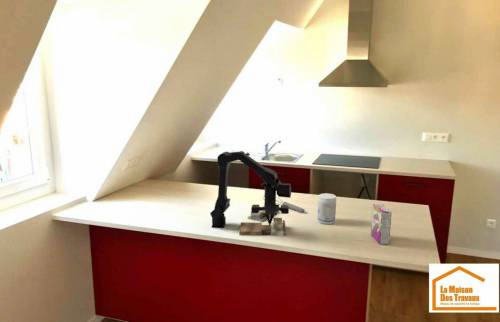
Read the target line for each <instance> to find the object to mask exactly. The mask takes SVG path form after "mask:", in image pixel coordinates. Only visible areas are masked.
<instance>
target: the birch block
mask: <svg viewBox="0 0 500 322" xmlns="http://www.w3.org/2000/svg"><path fill="white" fill-rule="evenodd" d="M272 223H273V229H282V223H283V217H273V219H272Z"/></svg>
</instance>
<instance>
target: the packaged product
mask: <svg viewBox="0 0 500 322" xmlns="http://www.w3.org/2000/svg"><path fill="white" fill-rule="evenodd" d="M262 207H264V205H263V206H262ZM277 214H279V212H277ZM269 218H270V215H269ZM247 219H248V220H252V221H256V222H259V223H263V222H264V221H266V220H267V218H266V216H265V215H263V211H259V212H258V213H251V212H250V215H249V216H247ZM267 221H268V220H267Z"/></svg>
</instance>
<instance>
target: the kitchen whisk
mask: <svg viewBox="0 0 500 322" xmlns="http://www.w3.org/2000/svg"><path fill="white" fill-rule="evenodd" d="M263 198H265V195H263ZM278 199H279V200H278ZM277 202H278V203H279V204H280V206H281V205H288V207H289V210H290V209H291V210H294V211H296V212H297V213H302V214H304V213H305V212H306V210H305V208H303V207H299V206H297V205H294V204H293V203H289V202H286V201H282V198H280V197H279V196H276V205H278V203H277Z"/></svg>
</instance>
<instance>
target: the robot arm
mask: <svg viewBox="0 0 500 322" xmlns="http://www.w3.org/2000/svg"><path fill="white" fill-rule="evenodd" d="M237 161H240V162H241V163H242V164H244V165H245V166H247V167H248V168H249V169H251V170H252V171H254V173H257V175H258V176H259V177H260V178H261V179H262V180H263V183H262V184H261V185H260V188H264V196H265V197H264V198H263V200H264V203H263V204H264V205H263V206H264V207H263V206H260V204H252V205H251V206H250V207H251V210H250V211H251V212H250V214H251V213H258V212H259V211H263V215H265V216H266V218H267V223H268V225H271V223H273V218H275V216H277V215H278V213H279V212H280V213H281V214H283V215H288V214H290V208H289V207H288V205H281V204H276V203H277V201H276V200H277V197H279V198H287V199H288V198H290V199H291V196H292V185H291V183H282V182H281V181H280V179H279V177H278V173H277V172H276V171H275V170H274V169H271V168H269V167H265V166H263V165H262V164H260V163H259V162H258V161H256V160H255V159H254V158H252V157H251V156H249V155H248V154H246V153H245V151H244V150H240V151H231V152H229V151H224V152H222V153H220V154H219V155H218V156H217V165H218V170H219V173H218V174H219V176H218V189H217V190H218V193H217V198H216V200H215V203H214V208H213V209H212V211H211V212H210V213H209V214H210V216H211V219H212V220H211V223H212V224H211V228H217V229H219V228H222V229H224V227H225V226H226V223H227V221H226V216H225V213H226V211H227V210H228V209H229V207H230V206H231V203H230V201H231V198H228V194H227V193H228V183H229V181H228V180H229V169H230V167H231V163H232V162H237ZM277 212H278V213H277ZM269 215H270V218H269Z"/></svg>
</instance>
